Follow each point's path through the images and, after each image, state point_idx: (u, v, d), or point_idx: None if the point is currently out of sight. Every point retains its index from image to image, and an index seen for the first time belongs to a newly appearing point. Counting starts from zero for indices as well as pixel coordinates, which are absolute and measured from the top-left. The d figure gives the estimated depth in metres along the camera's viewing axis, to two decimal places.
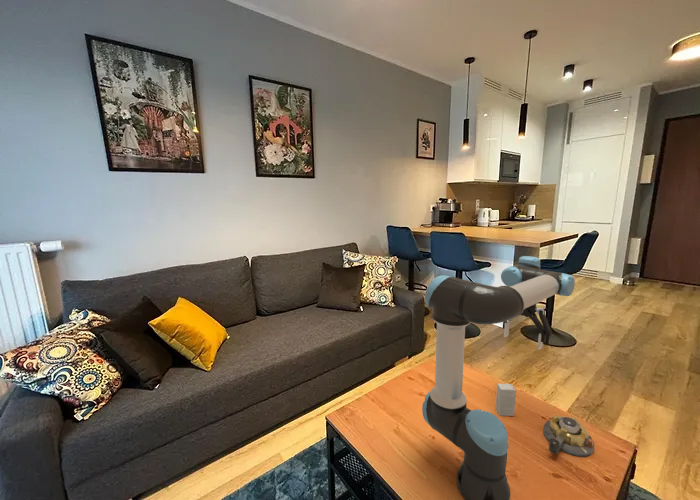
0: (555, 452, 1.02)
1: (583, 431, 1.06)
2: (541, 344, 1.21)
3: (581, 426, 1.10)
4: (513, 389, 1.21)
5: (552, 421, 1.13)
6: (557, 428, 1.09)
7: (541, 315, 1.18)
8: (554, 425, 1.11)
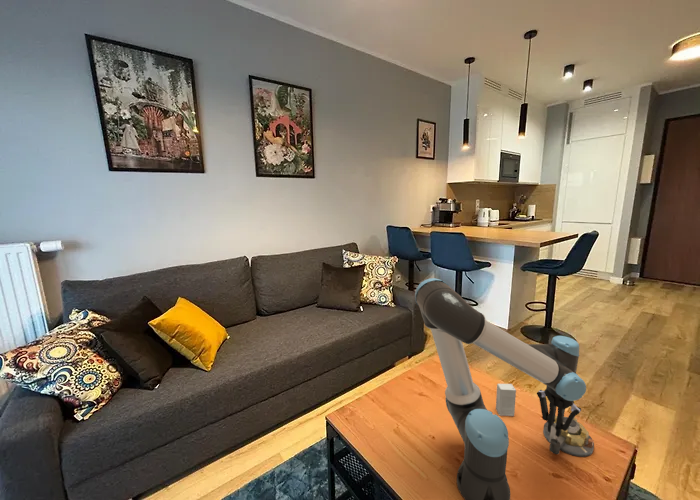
0: (556, 452, 1.02)
1: (583, 431, 1.06)
2: (555, 437, 1.05)
3: (581, 426, 1.10)
4: (513, 389, 1.21)
5: None
6: None
7: (574, 414, 0.99)
8: None
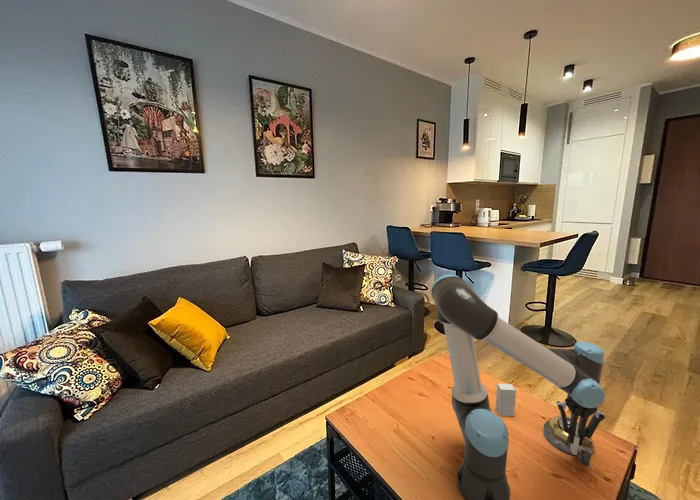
0: (589, 464, 0.97)
1: None
2: None
3: None
4: (513, 389, 1.21)
5: (556, 428, 1.09)
6: (567, 434, 1.07)
7: (599, 420, 0.96)
8: (562, 432, 1.08)
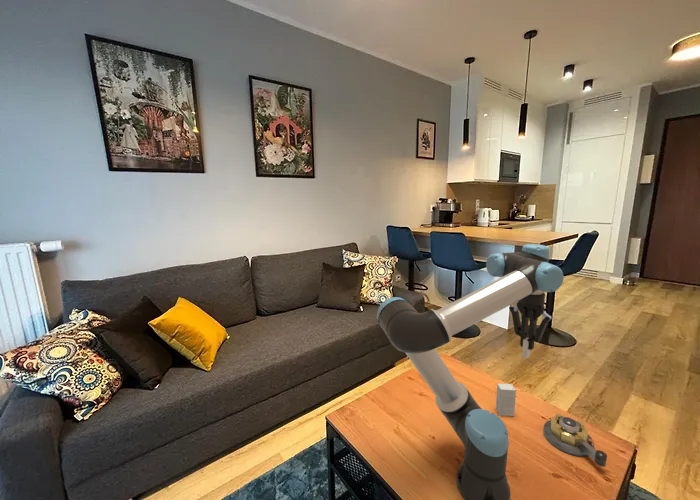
0: (605, 463, 0.97)
1: (580, 422, 1.10)
2: (528, 352, 1.03)
3: None
4: (513, 389, 1.21)
5: (561, 432, 1.08)
6: (573, 436, 1.06)
7: (544, 322, 0.96)
8: (568, 435, 1.06)
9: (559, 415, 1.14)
